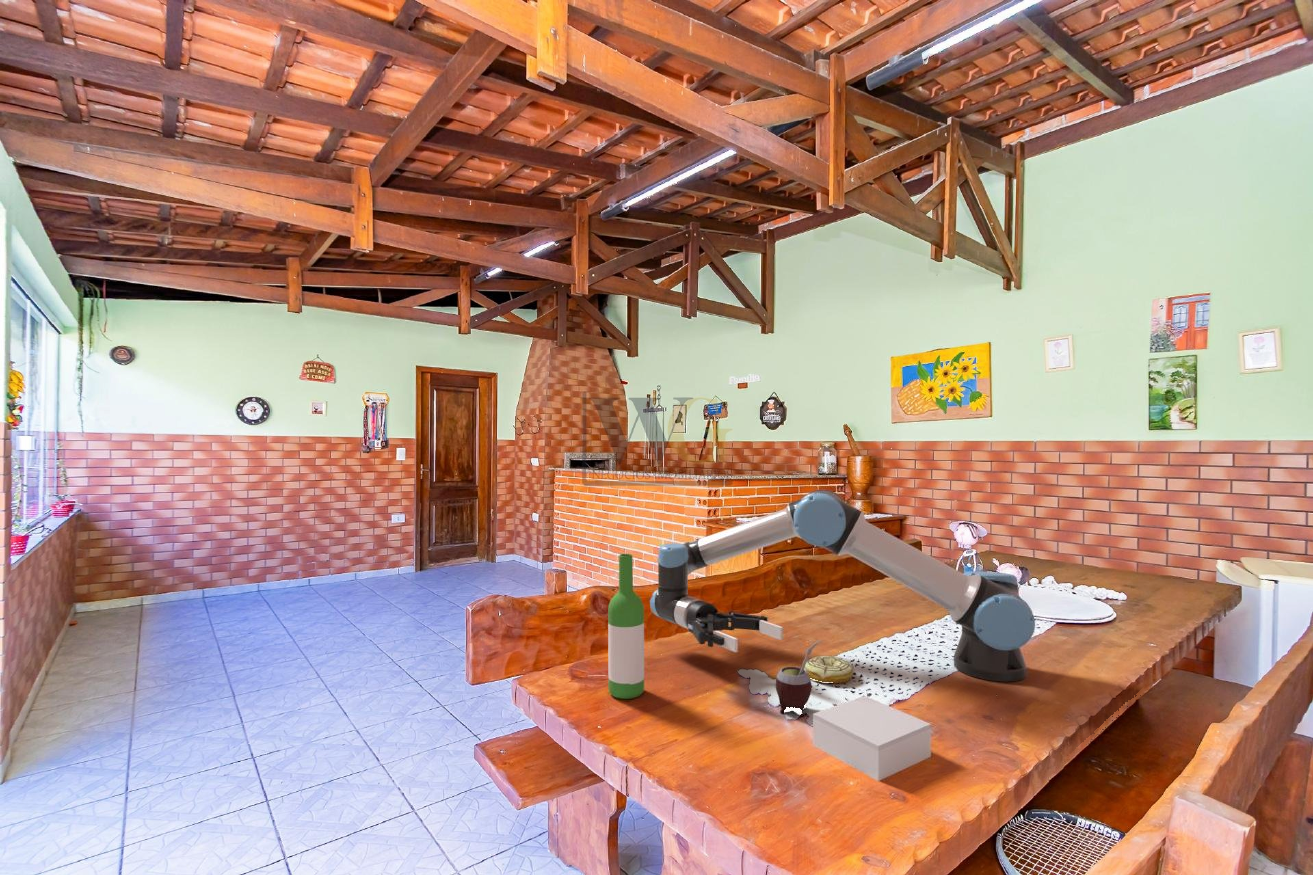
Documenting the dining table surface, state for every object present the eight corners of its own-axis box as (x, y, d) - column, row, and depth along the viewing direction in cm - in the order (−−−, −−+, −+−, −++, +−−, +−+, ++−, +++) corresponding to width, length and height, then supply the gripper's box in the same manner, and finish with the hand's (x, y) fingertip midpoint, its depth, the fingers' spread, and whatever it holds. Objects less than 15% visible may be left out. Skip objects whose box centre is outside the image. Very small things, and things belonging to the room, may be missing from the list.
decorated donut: (795, 673, 148) (795, 657, 148) (832, 666, 152) (831, 650, 152) (824, 689, 138) (824, 672, 138) (862, 681, 143) (862, 664, 143)
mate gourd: (769, 706, 129) (768, 633, 129) (801, 700, 133) (800, 628, 132) (790, 721, 123) (790, 644, 122) (823, 714, 126) (823, 639, 126)
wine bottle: (610, 685, 140) (609, 551, 140) (645, 686, 140) (644, 551, 140) (606, 700, 133) (605, 558, 133) (643, 700, 132) (642, 558, 132)
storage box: (813, 746, 113) (813, 713, 113) (864, 726, 121) (864, 695, 121) (878, 782, 102) (878, 745, 102) (930, 758, 109) (930, 723, 109)
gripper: (734, 622, 160) (798, 645, 143) (655, 640, 145) (715, 669, 128) (735, 592, 160) (799, 612, 143) (655, 608, 145) (715, 632, 128)
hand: (759, 639), depth 135 cm, fingers open, 13 cm apart
